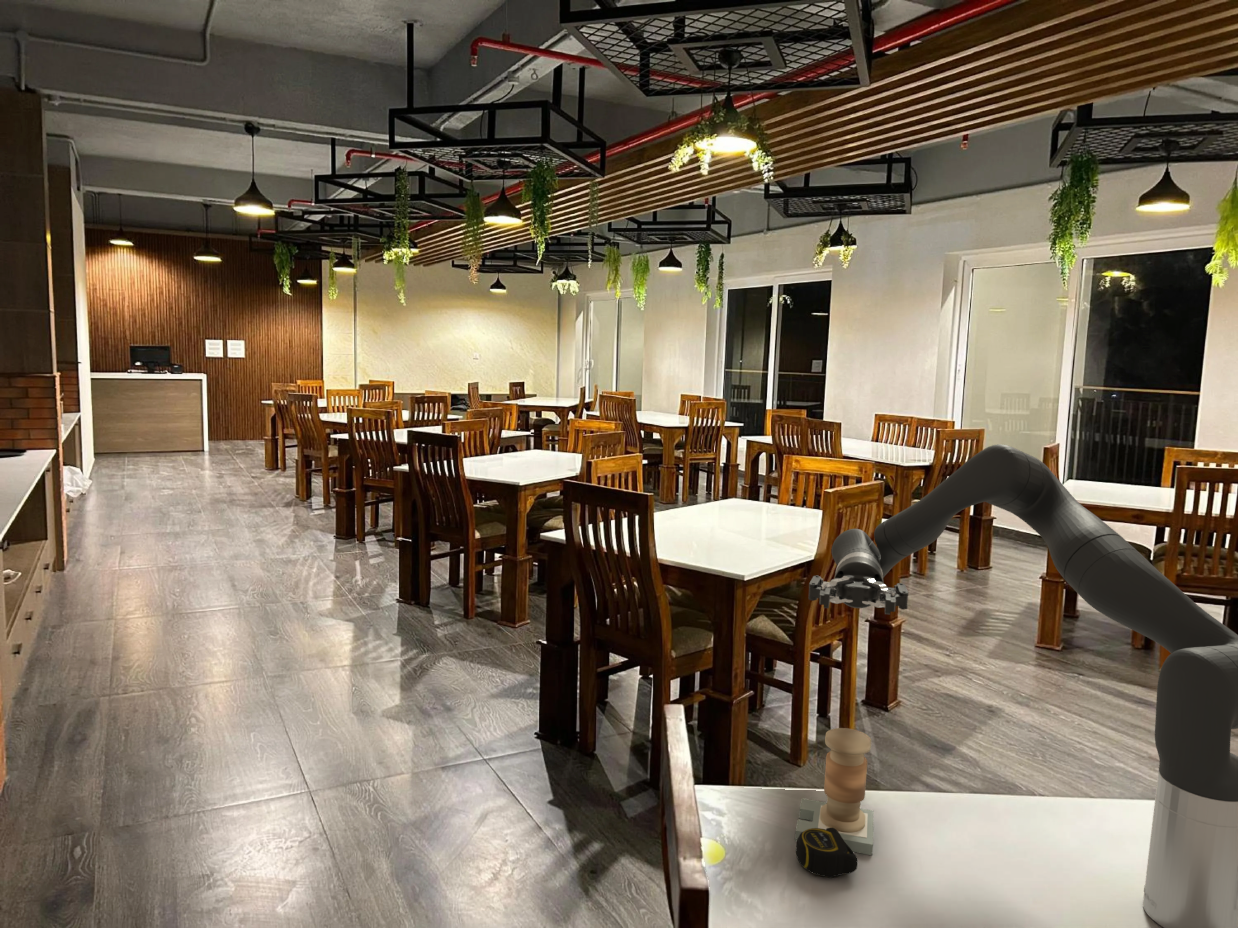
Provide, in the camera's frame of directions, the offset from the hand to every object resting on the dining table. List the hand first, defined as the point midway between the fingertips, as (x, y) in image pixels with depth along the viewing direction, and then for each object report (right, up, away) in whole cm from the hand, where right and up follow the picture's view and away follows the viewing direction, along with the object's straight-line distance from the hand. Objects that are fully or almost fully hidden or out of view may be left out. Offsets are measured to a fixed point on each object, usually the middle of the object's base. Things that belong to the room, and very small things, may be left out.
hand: (857, 604), depth 125 cm
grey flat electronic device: (-4, -30, -5) cm, 31 cm away
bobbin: (-3, -29, -5) cm, 30 cm away
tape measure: (-7, -32, -12) cm, 35 cm away
